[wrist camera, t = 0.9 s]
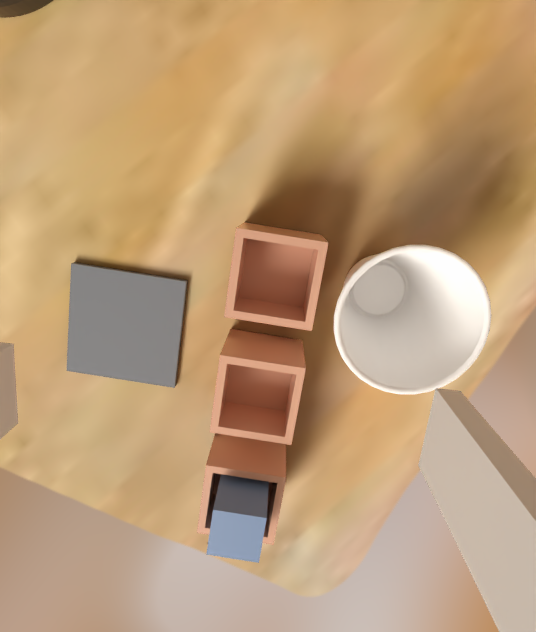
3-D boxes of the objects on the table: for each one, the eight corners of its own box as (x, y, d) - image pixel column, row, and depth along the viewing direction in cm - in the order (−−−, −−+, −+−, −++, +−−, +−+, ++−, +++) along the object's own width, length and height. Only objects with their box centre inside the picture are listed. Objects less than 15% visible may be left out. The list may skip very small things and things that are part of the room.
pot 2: (221, 394, 43) (209, 432, 36) (230, 328, 41) (220, 354, 34) (290, 405, 43) (291, 445, 36) (302, 340, 41) (305, 368, 34)
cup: (421, 215, 38) (475, 223, 27) (446, 325, 40) (505, 372, 30) (306, 251, 39) (315, 272, 28) (337, 356, 41) (356, 412, 31)
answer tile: (69, 368, 42) (66, 370, 42) (74, 262, 40) (71, 263, 39) (176, 385, 42) (174, 387, 42) (187, 280, 40) (186, 281, 39)
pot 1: (234, 296, 40) (224, 317, 33) (244, 222, 38) (236, 227, 32) (307, 308, 40) (311, 331, 33) (320, 234, 39) (328, 242, 32)
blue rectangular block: (220, 489, 42) (206, 554, 35) (226, 450, 41) (213, 509, 34) (263, 495, 42) (258, 562, 35) (270, 457, 41) (266, 518, 34)
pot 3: (210, 482, 45) (196, 532, 38) (218, 423, 43) (206, 465, 37) (275, 492, 45) (273, 544, 38) (285, 433, 43) (286, 477, 37)
